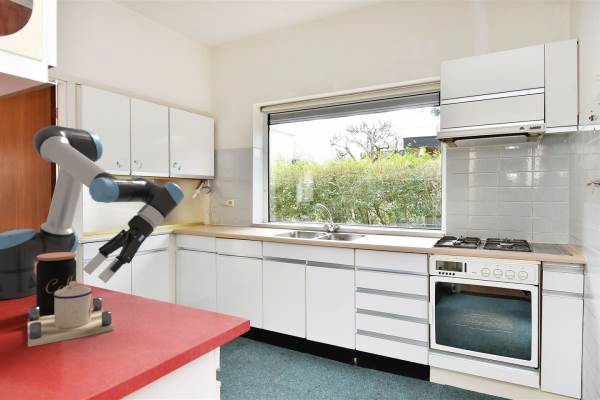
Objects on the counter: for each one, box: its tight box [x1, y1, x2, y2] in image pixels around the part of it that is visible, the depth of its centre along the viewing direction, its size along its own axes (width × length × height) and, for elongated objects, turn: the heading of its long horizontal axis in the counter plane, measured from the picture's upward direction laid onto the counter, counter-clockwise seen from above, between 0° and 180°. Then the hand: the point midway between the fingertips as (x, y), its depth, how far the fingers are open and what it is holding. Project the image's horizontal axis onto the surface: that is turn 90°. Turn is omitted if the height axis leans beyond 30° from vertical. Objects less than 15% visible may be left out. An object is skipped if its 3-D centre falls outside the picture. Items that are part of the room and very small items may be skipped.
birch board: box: [27, 307, 115, 348], centre depth 103 cm, size 19×19×2 cm
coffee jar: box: [35, 252, 77, 316], centre depth 117 cm, size 11×11×18 cm
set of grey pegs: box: [28, 296, 112, 340], centre depth 103 cm, size 18×18×4 cm
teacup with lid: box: [54, 280, 93, 328], centre depth 103 cm, size 12×9×12 cm
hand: (93, 276), depth 107 cm, fingers open, 13 cm apart
